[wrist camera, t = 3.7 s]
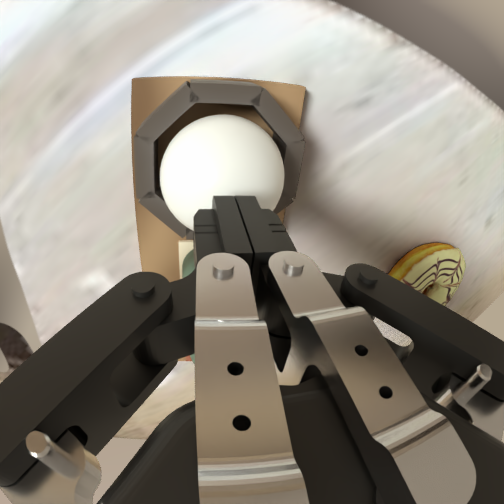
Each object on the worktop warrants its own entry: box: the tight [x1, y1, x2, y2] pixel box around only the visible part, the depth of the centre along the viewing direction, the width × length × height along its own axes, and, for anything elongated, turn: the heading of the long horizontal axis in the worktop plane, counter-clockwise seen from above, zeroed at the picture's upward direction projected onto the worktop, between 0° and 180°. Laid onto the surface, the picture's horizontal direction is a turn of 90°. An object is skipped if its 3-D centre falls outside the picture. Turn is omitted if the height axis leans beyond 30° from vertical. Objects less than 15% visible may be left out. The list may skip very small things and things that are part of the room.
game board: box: [131, 76, 306, 361], centre depth 22 cm, size 10×25×4 cm, turn 173°
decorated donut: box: [388, 243, 466, 306], centre depth 29 cm, size 10×11×4 cm
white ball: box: [160, 114, 284, 230], centre depth 15 cm, size 6×6×6 cm
